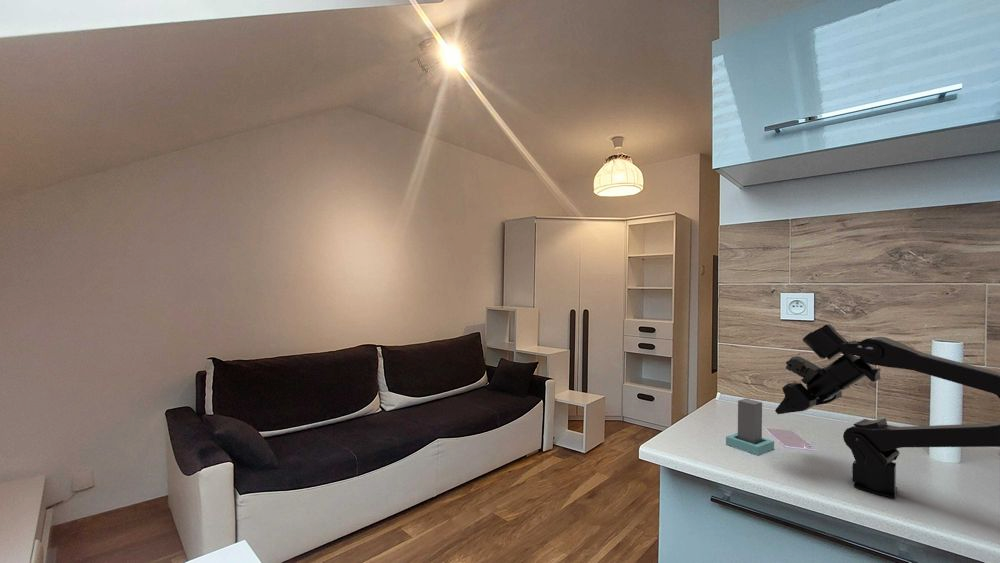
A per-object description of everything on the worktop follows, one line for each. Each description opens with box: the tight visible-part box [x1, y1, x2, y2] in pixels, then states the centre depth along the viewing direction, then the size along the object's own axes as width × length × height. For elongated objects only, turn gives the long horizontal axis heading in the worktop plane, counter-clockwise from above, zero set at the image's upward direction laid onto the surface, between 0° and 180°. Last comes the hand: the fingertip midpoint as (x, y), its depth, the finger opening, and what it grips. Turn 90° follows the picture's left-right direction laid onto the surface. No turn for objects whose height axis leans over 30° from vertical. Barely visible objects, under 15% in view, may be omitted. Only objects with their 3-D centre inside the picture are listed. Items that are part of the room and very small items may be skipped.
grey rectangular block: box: [737, 398, 763, 445], centre depth 112 cm, size 4×4×12 cm
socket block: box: [725, 432, 775, 456], centre depth 112 cm, size 8×8×2 cm
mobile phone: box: [765, 427, 816, 452], centre depth 118 cm, size 8×1×15 cm
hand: (785, 409), depth 104 cm, fingers open, 9 cm apart
